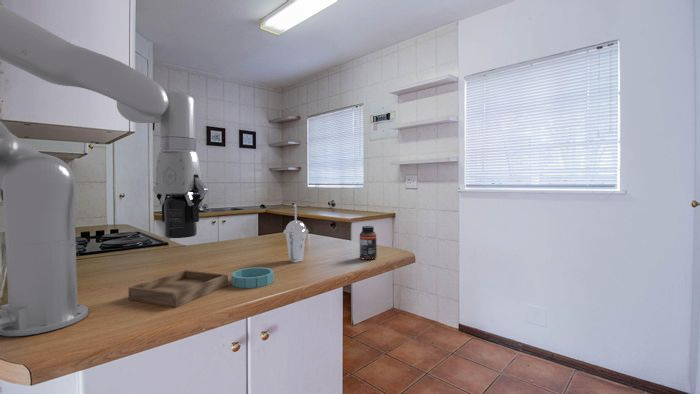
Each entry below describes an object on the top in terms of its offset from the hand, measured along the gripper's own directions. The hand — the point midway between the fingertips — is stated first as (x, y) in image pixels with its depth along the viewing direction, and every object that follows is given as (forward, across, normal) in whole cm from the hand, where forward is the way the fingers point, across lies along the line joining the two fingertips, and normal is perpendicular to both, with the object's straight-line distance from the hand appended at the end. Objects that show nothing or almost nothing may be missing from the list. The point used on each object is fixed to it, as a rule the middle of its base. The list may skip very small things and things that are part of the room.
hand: (180, 221), depth 79 cm
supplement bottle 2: (+18, +32, +50) cm, 62 cm away
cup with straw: (+18, +10, +38) cm, 43 cm away
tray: (+17, 0, 0) cm, 17 cm away
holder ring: (+17, +11, +13) cm, 24 cm away
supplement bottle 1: (+4, 0, 0) cm, 4 cm away
